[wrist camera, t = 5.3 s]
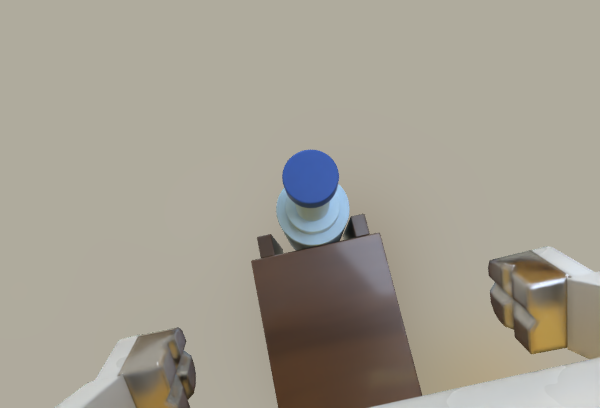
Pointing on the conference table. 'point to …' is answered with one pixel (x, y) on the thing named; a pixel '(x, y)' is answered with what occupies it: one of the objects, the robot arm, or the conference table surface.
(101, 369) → the robot arm
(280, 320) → the bottle stand
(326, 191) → the bottle
